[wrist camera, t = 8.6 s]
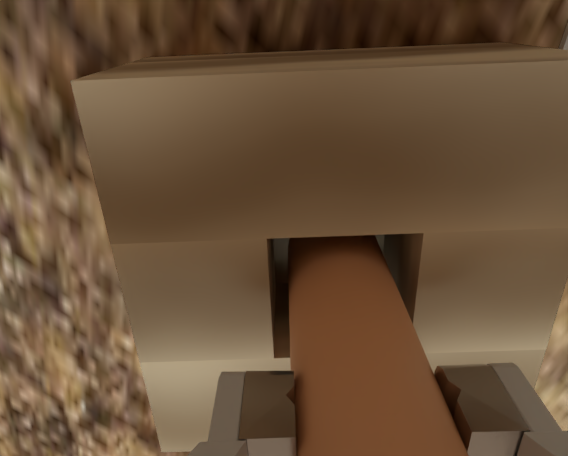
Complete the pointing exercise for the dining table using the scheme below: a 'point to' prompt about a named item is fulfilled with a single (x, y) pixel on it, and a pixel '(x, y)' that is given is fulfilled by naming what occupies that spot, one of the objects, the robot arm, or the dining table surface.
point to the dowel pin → (359, 357)
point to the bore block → (329, 200)
